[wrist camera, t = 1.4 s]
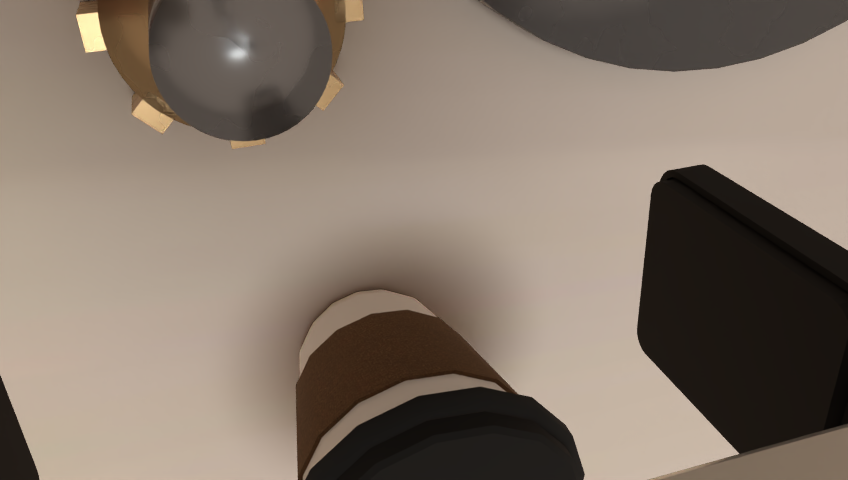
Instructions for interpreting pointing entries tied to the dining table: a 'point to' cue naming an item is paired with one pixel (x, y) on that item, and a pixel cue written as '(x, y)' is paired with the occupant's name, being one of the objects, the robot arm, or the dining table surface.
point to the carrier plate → (674, 28)
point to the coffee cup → (415, 403)
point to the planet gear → (223, 60)
